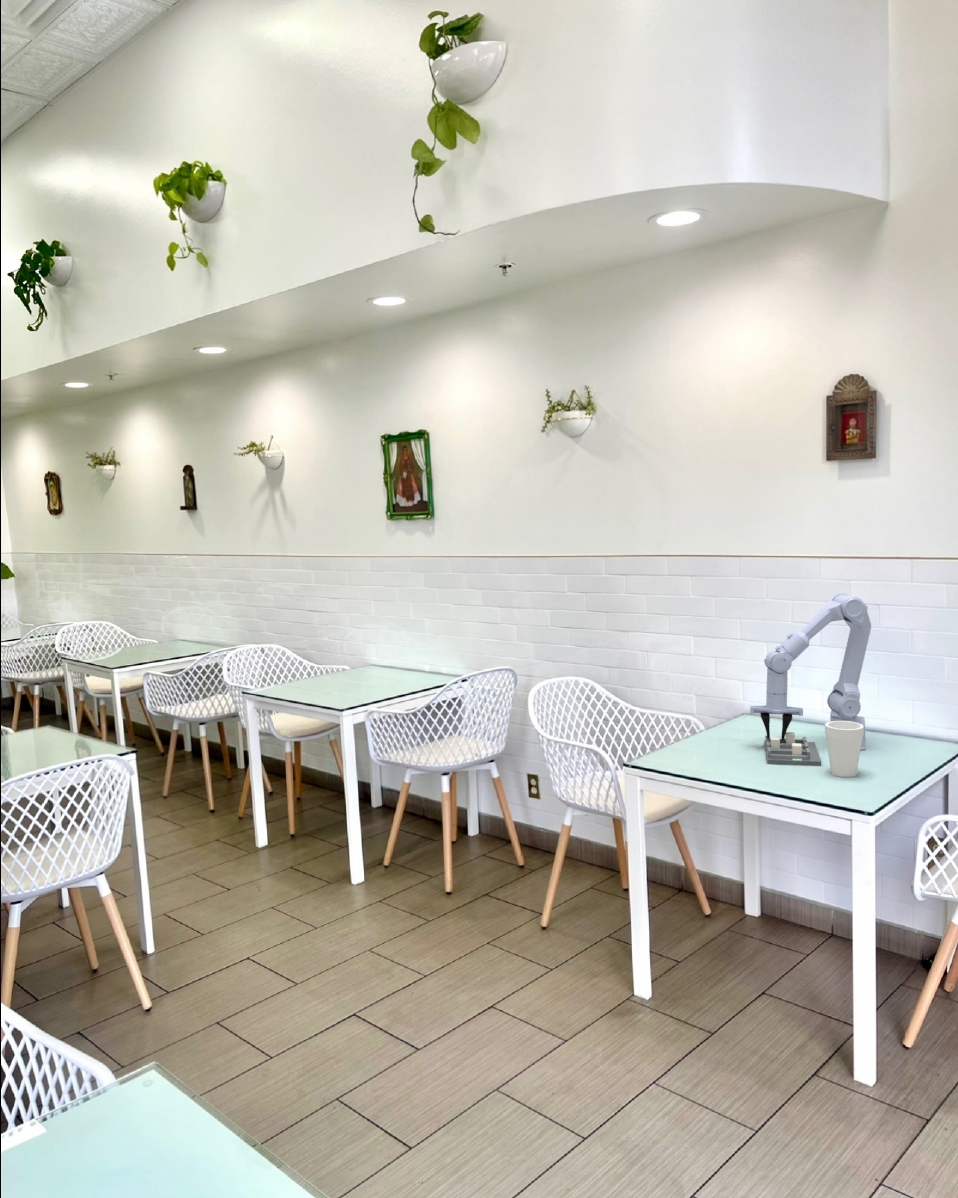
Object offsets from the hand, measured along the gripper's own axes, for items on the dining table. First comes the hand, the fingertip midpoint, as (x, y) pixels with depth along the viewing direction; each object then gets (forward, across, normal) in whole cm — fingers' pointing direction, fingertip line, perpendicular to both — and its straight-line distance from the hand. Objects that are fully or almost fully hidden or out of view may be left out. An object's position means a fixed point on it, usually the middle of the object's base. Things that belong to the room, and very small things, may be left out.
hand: (775, 738), depth 274 cm
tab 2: (+2, +4, 0) cm, 4 cm away
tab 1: (+2, 0, -6) cm, 6 cm away
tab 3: (+2, +5, -12) cm, 13 cm away
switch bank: (+3, +4, -6) cm, 8 cm away
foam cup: (+3, +16, -22) cm, 27 cm away
